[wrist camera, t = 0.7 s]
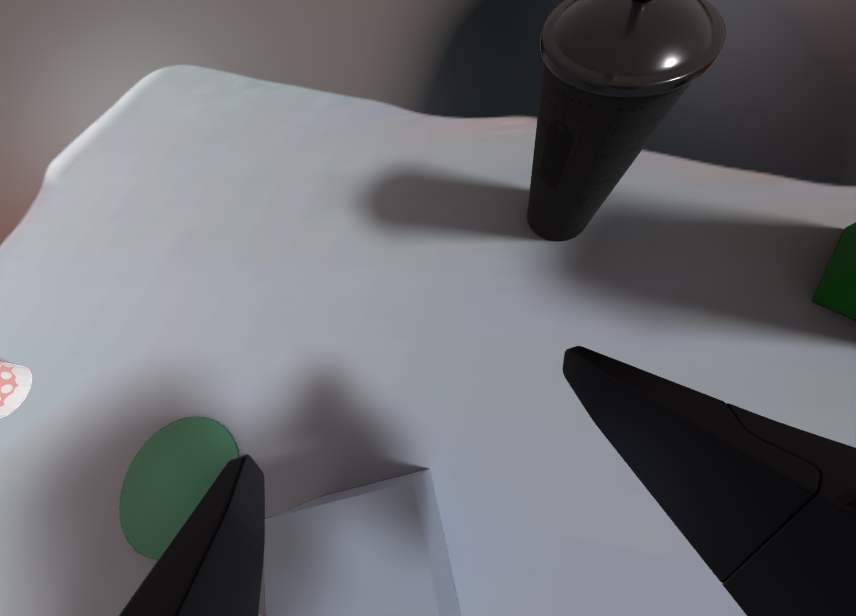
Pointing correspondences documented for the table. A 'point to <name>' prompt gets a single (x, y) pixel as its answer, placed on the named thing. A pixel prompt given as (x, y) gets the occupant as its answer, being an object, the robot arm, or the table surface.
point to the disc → (171, 480)
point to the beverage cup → (13, 386)
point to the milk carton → (840, 277)
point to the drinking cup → (609, 96)
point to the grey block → (361, 554)
